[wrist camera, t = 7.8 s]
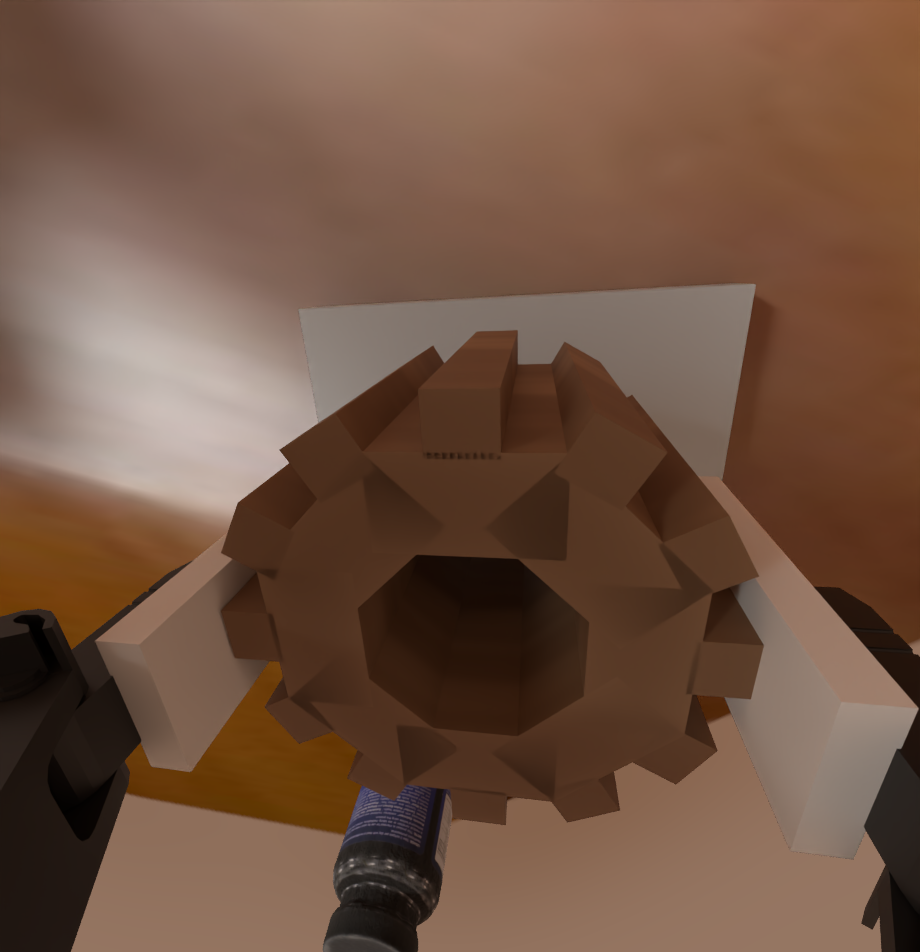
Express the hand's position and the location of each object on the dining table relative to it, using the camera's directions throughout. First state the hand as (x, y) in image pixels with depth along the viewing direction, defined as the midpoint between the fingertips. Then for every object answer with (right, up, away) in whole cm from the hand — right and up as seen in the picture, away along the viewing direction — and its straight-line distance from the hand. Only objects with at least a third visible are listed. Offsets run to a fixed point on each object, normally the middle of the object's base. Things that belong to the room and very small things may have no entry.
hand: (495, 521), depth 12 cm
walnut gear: (0, +1, +2) cm, 2 cm away
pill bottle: (-4, -18, +21) cm, 28 cm away
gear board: (+2, 0, +12) cm, 12 cm away
